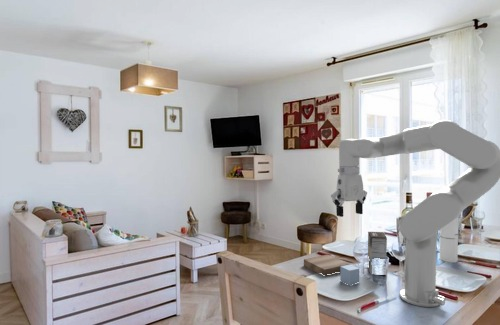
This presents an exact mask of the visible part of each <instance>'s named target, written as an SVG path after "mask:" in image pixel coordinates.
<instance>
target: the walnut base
mask: <svg viewBox="0 0 500 325" xmlns="http://www.w3.org/2000/svg"><path fill="white" fill-rule="evenodd" d="M345 265H351V263H349V262H347V261H345V260H342V259H341V258H337V257H335V256H333V255H330V254H324V255H319V256H314V257H308V258H303V267H305V268H307V269H309V270H311V271H313V272H315V273H316V274H318V273H322V274H323V275H327V274H332V273H335V272H340V268H341V266H345Z"/></svg>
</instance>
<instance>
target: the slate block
mask: <svg viewBox="0 0 500 325" xmlns="http://www.w3.org/2000/svg"><path fill="white" fill-rule="evenodd" d="M339 275H340V279H339V280H341V281H342V282H341V281H340V282H341V283H343V282H344V283H346V284H348V285H352V284H355V283H357V282H359V283H360V268H359V267H357V266H355V265H352V264H350V265H345V266H341V268H340V273H339ZM344 283H343V284H344ZM346 284H345V285H346ZM348 285H347V286H348ZM352 286H353V285H352Z"/></svg>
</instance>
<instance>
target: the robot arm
mask: <svg viewBox="0 0 500 325" xmlns="http://www.w3.org/2000/svg"><path fill="white" fill-rule="evenodd" d="M434 150H441V151H443V152H444V153H446V154H447V155H450V156H451V157H452V158H455V159H456V160H458V161H459V162H461V163H463V164H464V165H467V166H468V167H467V170H466V171H464V172H463V173H462V174H461V175H459V176H457V178H455V179H454V180H453V181H452V182H450V183H449V184H447V185H446V186H444V187H443V188H441V189H438V190H437V191H435V192H432V194H429V195H428V196H427V197H426V198H425V199H423V200H422V201H421V202H419V203H418V204H416V206H415V207H413V208H412V209H410V210H409V211H408V212H406V213H405V214H404V215H402V217H401V218H400V220H399V223H398V230H399V233H400V234H401V236H402V237H403V238H404V239H405V249H404V250H405V253H404V255H405V256H404V288H403V289H400V291H399V297H400V298H401V300H403V301H404V302H406V303H408V304H411V305H413V306H417V307H424V308H434V307H437V306H439V305H440V306H445V304H446V297H445V296H443V295H440V294H439V291H440V290H439V289H438V288H436V283H437V282H436V278H437V277H436V276H437V275H436V273H437V244H438V233H439V231H440V229H442V228H443V227H445V226H446V225H448V224H449V223H450V222H452V221H453V220H454V219H456V218H457V217H458V216H459V217H460V215H461V214H462V213H463V211H464V210H465V209H466V208H468V207H469V206H470V205H472V204H473V203H474V202H476V201H478V199H480V198H481V197H482V196H484V195H485V194H487V193H488V192H490V190H492V189H493V188H494V186H495V185H496V184H497V183H498V182H499V180H500V148H499V146H498V145H497V144H496V143H494V142H493V141H490V140H487V139H485V138H482V137H481V136H479V135H477V134H474V133H473V132H471V131H469V130H467V129H465V128H463V127H461V126H460V125H459V124H458V123H456V122H454V121H452V120H448V119H446V120H445V119H443V120H438V121H435V122H434V123H432V124H427V125H421V126H416V127H412V128H411V127H410V128H405V129H404V130H402V131H400V132H399V133H395V134H391V135H386V136H381V137H364V138H358V139H357V138H355V139H354V138H348V139H346V138H345V139H341V140H340V141H339V143H338V160H339V162H338V164H339V165H338V166H339V167H338V169H337V173H339V174H338V175H337V181H336V190H335V191H334V192H333V193H332V194H331V195H330V198H331V200H332V203H333V204H334V206H336V216H337V217H342V218H343V217H344V206H343V204H344V203H345V202H353V201H354V202H356V203H355V213H356V214H359V215H363V212H364V211H363V204H365V201H366V199H367V195H368V192H367V191H366V190H364V182H363V177H362V174H360V173H361V171H360V159H372V158H373V159H374V158H382V157H389V156H394V155H401V154H404V155H405V154H408V155H409V154H414V153H420V152H421V153H422V152H427V151H434Z"/></svg>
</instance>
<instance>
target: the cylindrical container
mask: <svg viewBox="0 0 500 325" xmlns="http://www.w3.org/2000/svg"><path fill="white" fill-rule="evenodd" d="M459 217H460V215H459V216H458V217H457V218H456V219H454V220H453V221H452V222H450V223H449V224H448V225H446V226H445V227H443V228H442V229H440V230H439V231H440V232H439V260H441V261H442V262H446V263H458V253H459V250H458V249H459V244H458V243H459Z"/></svg>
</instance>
